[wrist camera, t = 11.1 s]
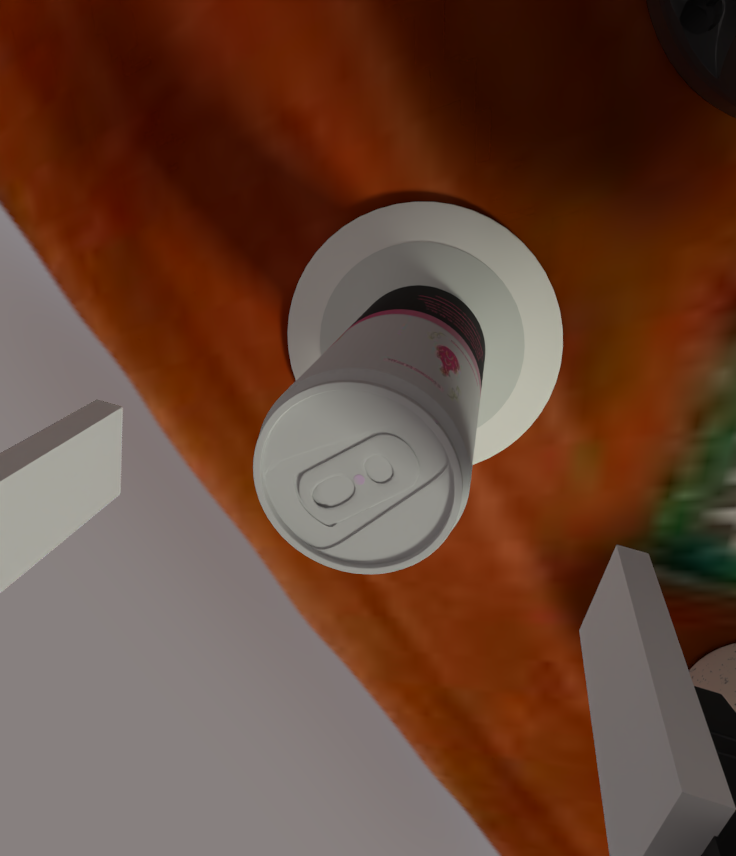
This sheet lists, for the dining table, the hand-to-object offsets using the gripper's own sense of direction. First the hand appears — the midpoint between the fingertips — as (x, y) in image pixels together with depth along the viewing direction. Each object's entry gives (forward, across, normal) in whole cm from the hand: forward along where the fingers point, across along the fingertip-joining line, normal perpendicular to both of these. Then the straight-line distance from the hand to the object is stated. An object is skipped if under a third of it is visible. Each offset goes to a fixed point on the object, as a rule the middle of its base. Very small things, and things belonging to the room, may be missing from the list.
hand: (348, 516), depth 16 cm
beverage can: (+17, 0, 0) cm, 17 cm away
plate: (+18, 0, 0) cm, 18 cm away
